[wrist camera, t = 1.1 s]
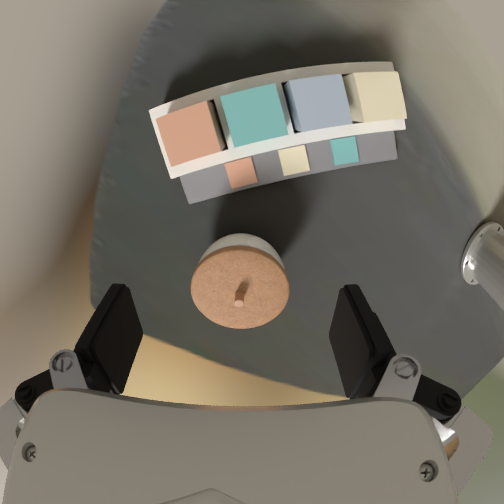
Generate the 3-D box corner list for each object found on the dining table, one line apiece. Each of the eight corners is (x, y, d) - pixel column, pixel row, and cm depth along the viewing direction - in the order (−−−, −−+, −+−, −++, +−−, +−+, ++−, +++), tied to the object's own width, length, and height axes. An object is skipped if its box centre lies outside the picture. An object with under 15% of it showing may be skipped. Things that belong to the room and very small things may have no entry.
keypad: (376, 66, 23) (392, 61, 20) (393, 157, 29) (409, 163, 25) (161, 110, 26) (148, 110, 23) (190, 201, 32) (183, 213, 28)
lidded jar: (214, 208, 32) (200, 243, 24) (295, 235, 34) (309, 276, 26) (193, 278, 37) (179, 324, 29) (265, 299, 39) (268, 347, 31)
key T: (271, 89, 24) (275, 83, 19) (282, 131, 26) (288, 134, 22) (225, 100, 24) (219, 96, 20) (237, 142, 27) (234, 147, 22)
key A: (214, 103, 25) (206, 100, 20) (226, 145, 27) (221, 151, 22) (171, 117, 25) (155, 118, 21) (184, 158, 27) (171, 167, 23)
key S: (326, 80, 23) (341, 73, 19) (336, 122, 25) (352, 123, 21) (282, 86, 24) (288, 80, 19) (293, 129, 26) (302, 132, 21)
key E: (376, 76, 22) (397, 71, 18) (384, 116, 25) (407, 118, 20) (337, 78, 23) (353, 72, 19) (346, 120, 25) (364, 122, 21)
